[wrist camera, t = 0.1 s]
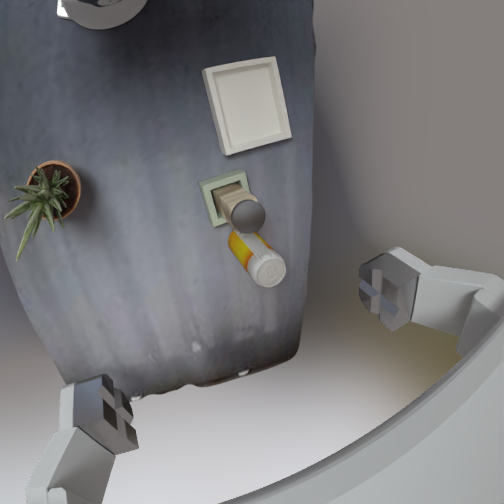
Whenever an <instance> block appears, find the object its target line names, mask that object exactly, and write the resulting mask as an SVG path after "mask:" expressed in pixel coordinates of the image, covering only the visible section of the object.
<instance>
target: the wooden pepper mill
mask: <svg viewBox="0 0 504 504" xmlns="http://www.w3.org/2000/svg"><path fill="white" fill-rule="evenodd" d="M211 192H212V195H213V199H214V202H215V206H216V209H217V211H218V212H219V213H220V214H221V215H222V216H223V217H224V219H225V220H226V221H227V222H228V223H229V224H230V225H231V226H232V228H233V229H234V230H235V231H236V232H241V233H244V234H250V233H254V232H256V231H257V230H258V229H260V228H261V226H262V225H263V223H264V220H265V211H264V209H263V207H262V206H261V205H260V204H259V203H258V202H257V198H256V197H254V196H253V195H252V194H250V193H249V192H247V191H246V190H245V189H243V188H242V187H240V186H239V185H237V184H236V183H234V182H233V183H230V184H227V185H224V186H221V187H218V188H215V189H212V190H211Z"/></svg>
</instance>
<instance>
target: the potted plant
mask: <svg viewBox="0 0 504 504" xmlns="http://www.w3.org/2000/svg"><path fill="white" fill-rule="evenodd" d="M35 167H36V169H35V170H34V171H33V172H32V173H31V175H30V177H29V179H28V182H27V185H25V186H16V187H14V189H18V190H21V191H23V192H25V193H26V194H25V195H22V196H19V197H16V198H13V199H11V200H9V201H8V202H10V201H14V200H24V201H25V202H24V203H22V204H21V205H19V206H17V207H16V208H14V209H13V210H12V211H11V212H10V213H8V214H7V215H6V217H4V219H6V218H9V217H12V216H13V217H12V218H11V219H13V218H15V217H17V216H19V215H20V214H22V213H24V212H26V211H28V210H31V209H32V211H31V213H30V215H29V217H30V216H31V217H30V219H29V222H28V224H27V227H26V229H25V232H24V236H23V239H22V241H21V244H20V247H19V250H18V254H17V258H16V261H17V260H18V259H19V257H20V255H21V254H22V252H23V250H24V248H25V245H26V243H27V241H28V239H29V237H30V235H31V232H32V230H33V228H34V230H33V236H32V240H33V239H34V237H35V234H36V232H37V230H38V228H39V225H40V222H41V219H42V218H43V219H46V220H48V222H49V224H50V226H51V228H52V230H53V232H55V225H54V220H59V221H60V223H61V225H62V227H64V223H63V220H62V219H63V218H65V217H67V216H68V215H69V214H71V213H72V212H73V210H74V209H75V207H76V206H77V204H78V202H79V199H80V195H81V182H80V178H79V175H78V173H77V172H76V171H75V170H74V168H73V167H72V166H71V165H70V164H68V163H66V162H64V161H60V160H51V161H47V162H45V163H43V164H41V165H40V166H38V167H37V166H36V165H35ZM29 217H28V218H29Z"/></svg>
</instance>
